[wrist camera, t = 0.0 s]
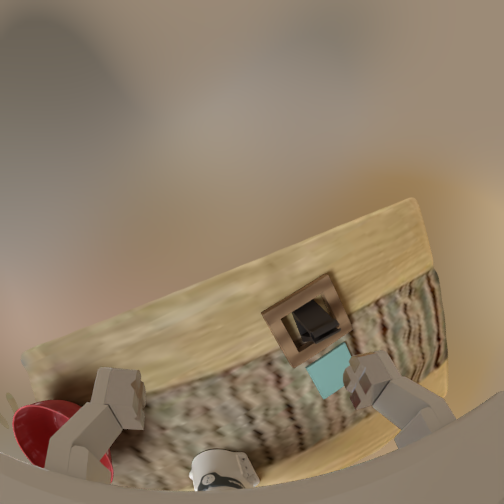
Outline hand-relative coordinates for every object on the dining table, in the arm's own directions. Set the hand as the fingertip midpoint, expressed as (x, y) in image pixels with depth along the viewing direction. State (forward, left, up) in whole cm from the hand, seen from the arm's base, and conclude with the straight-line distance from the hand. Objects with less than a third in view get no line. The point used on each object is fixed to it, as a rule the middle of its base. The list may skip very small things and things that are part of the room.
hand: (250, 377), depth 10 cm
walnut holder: (-22, -15, -54) cm, 61 cm away
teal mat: (-39, -15, -54) cm, 69 cm away
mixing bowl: (-19, +55, -55) cm, 80 cm away
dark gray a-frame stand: (-22, -15, -55) cm, 61 cm away
